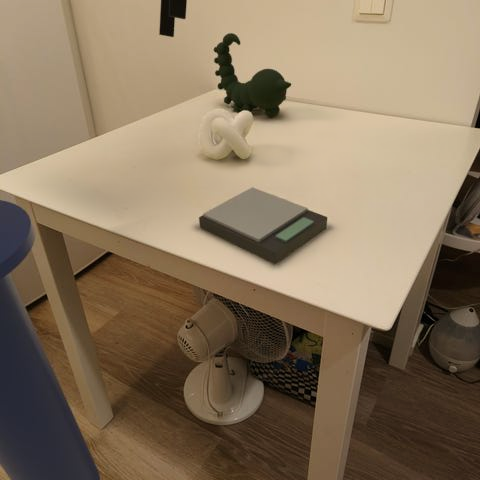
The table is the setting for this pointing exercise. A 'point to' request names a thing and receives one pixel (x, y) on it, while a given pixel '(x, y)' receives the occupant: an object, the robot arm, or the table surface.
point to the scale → (263, 224)
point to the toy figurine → (249, 83)
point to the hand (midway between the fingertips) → (171, 27)
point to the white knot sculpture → (225, 133)
